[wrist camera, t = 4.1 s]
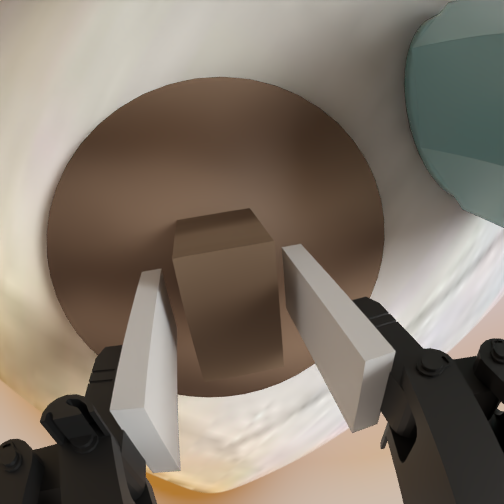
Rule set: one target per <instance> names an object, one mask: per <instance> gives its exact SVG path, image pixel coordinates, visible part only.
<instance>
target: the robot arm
mask: <svg viewBox="0 0 504 504" xmlns="http://www.w3.org/2000/svg"><path fill="white" fill-rule="evenodd" d="M282 258H283V271H284V285H285V299H286V309H287V311H288V313H289V315H290V317H291V318H292V320H293V322H294V324H295V326H296V328H297V330H298V332H299V334H300V335H301V337H302V339H303V341H304V343H305V345H306V347H307V349H308V351H309V352H310V354H311V356H312V358H313V360H314V362H315V364H316V366H317V367H318V369H319V371H320V373H321V375H322V377H323V379H324V381H325V383H326V385H327V386H328V388H329V390H330V392H331V394H332V396H333V398H334V400H335V402H336V403H337V405H338V407H339V409H340V411H341V413H342V415H343V417H344V419H345V421H346V422H347V424H348V426H349V428H350V430H351V432H352V433H354V432H356V431H359V430H362V429H365V428H368V427H370V426H373V425H375V424H377V423H378V420H379V416H380V412H382V414H383V415H384V417H385V418H386V420H387V421H388V423H387V426H386V429H385V432H384V435H383V437H382V440H381V449H384V448H385V446H386V443H387V441H388V444H389V448H390V451H391V455H392V459H393V463H394V466H395V470H396V474H397V478H398V482H399V486H400V490H401V494H402V498H403V503H404V504H504V412H503V411H500V410H498V409H497V407H498V405H499V404H500V402H502V403H503V404H504V340H503V339H489V340H486V341H485V342H484V343H483V344H482V345H481V346H480V349H479V352H478V354H477V356H473V357H467V358H461V359H452V358H451V357H450V356H449V355H448V354H446V353H444V352H442V351H440V350H436V349H431V348H429V349H423V348H422V347H421V346H420V345H419V344H418V343H417V342H416V340H415V339H414V338H413V337H412V336H411V335H410V334H409V333H408V332H407V331H406V330H405V329H404V328H403V327H402V326H401V325H400V324H399V323H398V322H396V320H395V319H394V318H393V317H392V315H391V314H388V311H387V310H386V309H385V308H384V307H383V306H382V305H381V304H380V303H378V302H376V301H374V300H372V299H370V298H368V297H362V298H358V299H354V300H351V299H350V298H349V297H348V296H347V294H346V293H345V292H344V291H343V290H342V289H341V288H340V287H339V285H338V284H337V283H336V282H335V281H334V280H333V279H332V278H331V276H330V275H329V274H328V273H327V272H326V271H325V270H324V269H323V268H322V266H321V265H320V264H319V263H318V262H317V261H316V260H315V259H314V258H313V257H312V256H311V254H310V253H309V252H308V251H307V250H306V249H305V248H304V247H303V246H302V245H301V244H297V245H292V246H286V247H282ZM89 382H90V384H88V387H87V391H86V394H85V397H84V396H80V395H77V394H76V395H66V396H63V397H60V398H58V399H56V400H55V401H53V402H52V403H50V404H49V405H48V406H47V408H46V409H45V410H44V412H43V413H42V417H41V420H40V423H41V424H42V425H43V426H44V428H45V429H46V430H47V431H48V433H49V434H50V435H51V436H52V438H53V439H54V440H55V441H56V442H57V444H55V445H51V446H48V447H44V448H40V449H35V450H32V448H31V447H30V446H29V445H28V444H27V443H26V442H25V441H22V440H20V439H10V440H8V441H6V442H4V443H2V444H1V445H0V504H157V503H156V499H155V496H154V492H153V489H152V486H151V485H150V483H149V481H148V480H147V478H146V464H147V466H148V467H149V468H150V470H151V471H152V472H153V473H157V472H172V471H181V467H180V450H179V429H178V396H177V326H176V322H175V318H174V315H173V311H172V308H171V304H170V300H169V297H168V293H167V289H166V285H165V281H164V277H163V273H162V269H155V270H150V271H144V272H142V273H141V276H140V280H139V284H138V287H137V291H136V294H135V298H134V302H133V306H132V309H131V313H130V317H129V321H128V325H127V329H126V334H125V338H124V342H123V345H117V346H109V347H105V348H104V349H103V350H102V351H101V353H100V354H99V355H98V356H97V358H96V359H95V363H94V366H93V369H92V373H91V376H90V380H89Z"/></svg>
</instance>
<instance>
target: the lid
mask: <svg viewBox="0 0 504 504" xmlns="http://www.w3.org/2000/svg"><path fill="white" fill-rule="evenodd" d="M297 244H301V245H302V246H303V247H304V248H305V249H306V250H307V251H308V252H309V253H310V254H311V256H312V257H313V258H314V259H315V260H316V261H317V262H318V263H319V264H320V265H321V266H322V268H323V269H324V270H325V271H326V272H327V273H328V274H329V275H330V276H331V278H332V279H333V280H334V281H335V282H336V283H337V284H338V285H339V287H340V288H341V289H342V290H343V291H344V292H345V293H346V294H347V296H348V297H349V298H350V299H351V300H354V299H358V298H362V297H368V298H370V296H371V294H372V291H373V288H374V286H375V283H376V280H377V278H378V274H379V270H380V266H381V261H382V256H383V247H384V216H383V210H382V203H381V198H380V195H379V191H378V188H377V185H376V181H375V178H374V176H373V174H372V172H371V170H370V168H369V165H368V163H367V161H366V159H365V158H364V156H363V154H362V153H361V151H360V150H359V148H358V147H357V145H356V144H355V142H354V141H353V140H352V139H351V137H350V136H349V135H348V134H347V133H346V132H345V131H344V129H343V128H342V127H341V126H340V125H339V124H338V123H337V122H336V121H335V120H333V119H332V118H331V117H330V116H329V115H327V114H326V113H325V112H324V111H323V110H321V109H320V108H319V107H317V106H315V105H314V104H312V103H310V102H309V101H307V100H305V99H304V98H302V97H300V96H299V95H296V94H294V93H292V92H289V91H287V90H285V89H282V88H280V87H277V86H275V85H271V84H267V83H263V82H259V81H254V80H250V79H241V78H230V77H212V78H197V79H191V80H186V81H182V82H177V83H173V84H169V85H166V86H163V87H161V88H158V89H155V90H153V91H150V92H148V93H145V94H143V95H141V96H139V97H137V98H136V99H134V100H132V101H130V102H129V103H127V104H125V105H124V106H122V107H120V108H119V109H117V110H116V111H115V112H114V113H112V114H111V115H110V116H109V117H107V118H106V119H105V120H104V121H103V122H101V123H100V124H99V125H98V126H97V127H96V128H95V129H94V130H93V131H92V132H91V133H90V135H89V136H88V137H87V138H86V139H85V140H84V141H83V142H82V143H81V145H80V146H79V148H78V149H77V151H76V152H75V154H74V155H73V157H72V158H71V160H70V161H69V163H68V164H67V166H66V168H65V170H64V172H63V174H62V177H61V179H60V181H59V183H58V185H57V188H56V191H55V194H54V198H53V201H52V205H51V208H50V213H49V220H48V228H47V258H48V264H49V270H50V276H51V280H52V283H53V286H54V289H55V293H56V296H57V298H58V300H59V303H60V305H61V307H62V309H63V311H64V313H65V315H66V317H67V318H68V320H69V322H70V323H71V325H72V326H73V328H74V329H75V331H76V332H77V334H78V335H79V336H80V337H81V338H82V339H83V341H84V342H85V343H86V344H87V345H88V346H89V348H90V349H92V350H93V351H94V352H95V353H96V354H97V355H99V354H100V353H101V351H102V350H103V349H104V348H105V347H109V346H117V345H123V342H124V338H125V334H126V329H127V325H128V321H129V317H130V313H131V309H132V306H133V302H134V298H135V294H136V291H137V287H138V284H139V280H140V276H141V273H142V272H144V271H150V270H155V269H162V273H163V277H164V281H165V285H166V289H167V293H168V297H169V300H170V304H171V308H172V311H173V315H174V318H175V322H176V326H177V394H180V395H186V396H195V397H226V396H234V395H240V394H246V393H250V392H254V391H258V390H262V389H265V388H268V387H270V386H273V385H276V384H279V383H281V382H283V381H285V380H287V379H289V378H291V377H293V376H296V375H297V374H299V373H301V372H302V371H304V370H305V369H307V368H309V367H310V366H312V365H313V364H315V362H314V360H313V358H312V356H311V354H310V352H309V351H308V349H307V347H306V345H305V343H304V341H303V339H302V337H301V335H300V334H299V332H298V330H297V328H296V326H295V324H294V322H293V320H292V318H291V317H290V315H289V313H288V311H287V309H286V299H285V285H284V271H283V258H282V247H286V246H292V245H297Z"/></svg>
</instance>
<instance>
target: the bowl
mask: <svg viewBox="0 0 504 504" xmlns="http://www.w3.org/2000/svg"><path fill="white" fill-rule="evenodd" d="M405 100H406V108H407V114H408V119H409V124H410V128H411V132H412V135H413V138H414V142H415V144H416V147H417V149H418V152H419V155H420V157H421V158H422V160H423V162H424V165H425V167H426V168H427V170H428V171H429V173H430V174H431V176H432V177H433V179H434V180H435V181H436V182H437V183H438V185H439V186H440V187H441V188H442V189H444V190H445V191H446V192H447V193H449V194H450V195H452V196H453V197H455V198H456V200H457V201H458V203H459V205H460V206H461V208H462V209H463V210H465V211H467V212H470V213H472V214H474V215H476V216H479V217H481V218H483V219H485V220H488V221H490V222H492V223H494V224H496V225H499V226H501V227H503V228H504V0H457V1H454V2H450V3H448V4H447V5H446V6H445V8H444V9H443V10H442V11H441V13H440V14H439V15H436V16H433V17H431V18H430V19H428V20H427V21H425V22H424V23H423V24H422V25H421V26H420V28H419V29H418V31H417V32H416V34H415V35H414V38H413V40H412V42H411V44H410V48H409V51H408V55H407V60H406V67H405Z"/></svg>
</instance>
